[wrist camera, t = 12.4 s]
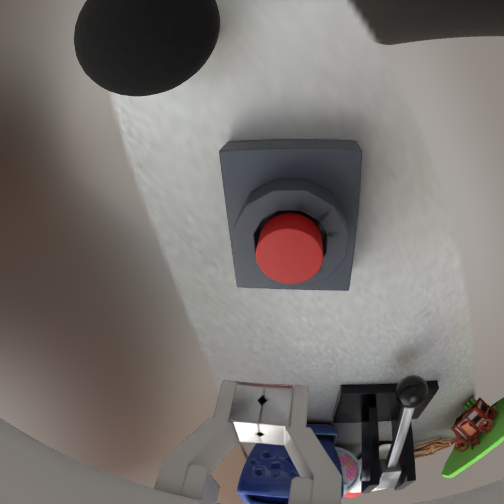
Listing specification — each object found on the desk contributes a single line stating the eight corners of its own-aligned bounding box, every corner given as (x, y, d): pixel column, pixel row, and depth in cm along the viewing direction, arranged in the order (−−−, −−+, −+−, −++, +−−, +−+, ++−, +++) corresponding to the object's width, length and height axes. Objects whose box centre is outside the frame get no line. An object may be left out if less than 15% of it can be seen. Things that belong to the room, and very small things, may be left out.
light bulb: (243, -13, 13) (182, -74, 5) (253, 74, 16) (202, 89, 8) (151, 7, 14) (39, -9, 6) (162, 88, 17) (57, 124, 9)
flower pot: (334, 448, 43) (330, 511, 34) (255, 444, 46) (244, 506, 36) (347, 416, 36) (345, 497, 26) (249, 411, 38) (232, 491, 29)
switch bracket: (341, 384, 32) (339, 483, 22) (437, 380, 30) (452, 469, 20) (332, 415, 36) (328, 497, 27) (416, 411, 34) (423, 488, 25)
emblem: (447, 450, 43) (447, 447, 43) (457, 435, 37) (456, 431, 38) (391, 463, 46) (391, 460, 47) (392, 451, 41) (392, 447, 42)
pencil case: (333, 474, 53) (331, 512, 45) (294, 472, 54) (289, 511, 46) (363, 442, 41) (362, 495, 33) (310, 441, 42) (305, 495, 34)
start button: (257, 212, 17) (252, 227, 16) (323, 212, 17) (324, 228, 15) (261, 264, 19) (257, 283, 18) (320, 266, 19) (321, 284, 17)
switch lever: (395, 370, 26) (403, 386, 23) (424, 368, 25) (435, 383, 22) (369, 473, 27) (372, 492, 24) (395, 471, 26) (400, 489, 23)
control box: (227, 141, 19) (209, 160, 16) (356, 140, 18) (368, 160, 14) (242, 269, 24) (231, 304, 21) (346, 271, 23) (350, 308, 20)
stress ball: (369, 503, 48) (353, 491, 49) (344, 501, 55) (329, 489, 56) (379, 485, 51) (365, 473, 52) (355, 485, 58) (340, 473, 59)
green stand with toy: (515, 430, 20) (486, 400, 24) (433, 488, 27) (408, 463, 31) (525, 375, 30) (501, 352, 33) (464, 433, 37) (443, 412, 40)
